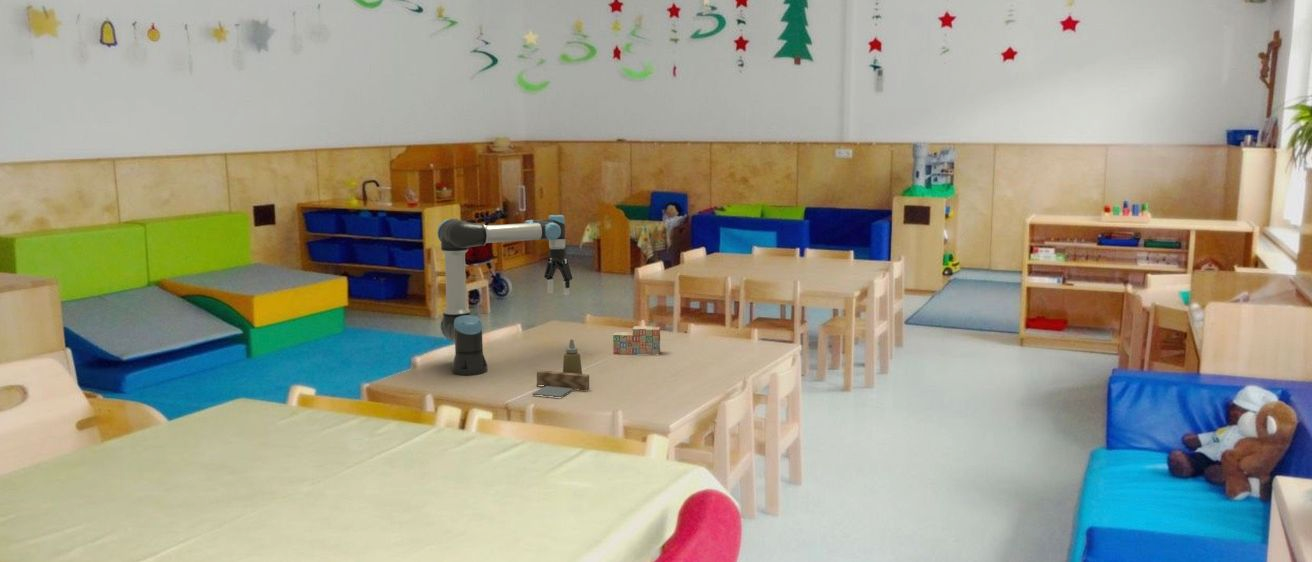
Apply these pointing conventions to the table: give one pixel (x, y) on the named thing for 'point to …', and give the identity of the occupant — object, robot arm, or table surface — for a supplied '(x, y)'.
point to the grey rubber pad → (553, 391)
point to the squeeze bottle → (572, 360)
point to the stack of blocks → (637, 341)
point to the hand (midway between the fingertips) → (558, 294)
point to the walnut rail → (563, 379)
